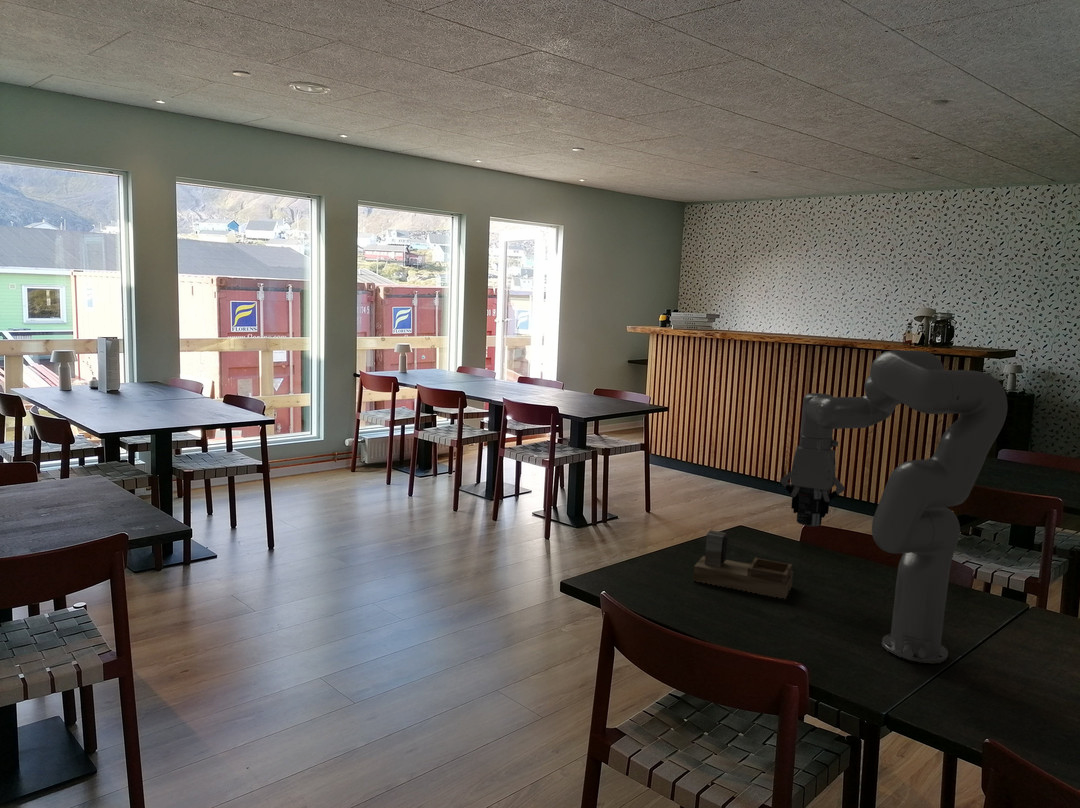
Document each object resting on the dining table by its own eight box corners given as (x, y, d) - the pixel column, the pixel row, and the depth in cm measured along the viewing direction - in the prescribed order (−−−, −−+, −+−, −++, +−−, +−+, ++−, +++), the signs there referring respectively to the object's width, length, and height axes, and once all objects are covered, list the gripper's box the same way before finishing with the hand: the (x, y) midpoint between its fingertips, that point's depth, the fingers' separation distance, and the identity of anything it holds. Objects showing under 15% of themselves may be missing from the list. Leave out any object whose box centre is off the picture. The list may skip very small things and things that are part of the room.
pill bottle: (824, 527, 194) (828, 482, 192) (800, 526, 194) (803, 481, 192) (817, 520, 199) (820, 477, 198) (793, 519, 200) (797, 476, 198)
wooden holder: (785, 599, 190) (789, 552, 189) (692, 581, 200) (696, 535, 199) (791, 587, 199) (795, 541, 197) (702, 569, 209) (705, 526, 207)
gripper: (854, 445, 193) (847, 516, 196) (782, 437, 201) (777, 505, 204) (850, 450, 187) (843, 523, 189) (776, 441, 195) (771, 511, 197)
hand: (809, 513), depth 196 cm, fingers closed on pill bottle, 6 cm apart
